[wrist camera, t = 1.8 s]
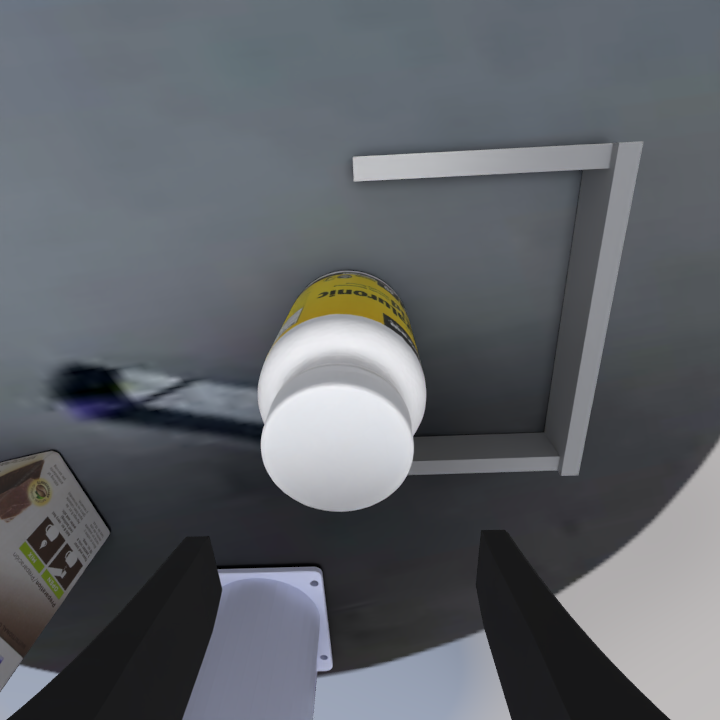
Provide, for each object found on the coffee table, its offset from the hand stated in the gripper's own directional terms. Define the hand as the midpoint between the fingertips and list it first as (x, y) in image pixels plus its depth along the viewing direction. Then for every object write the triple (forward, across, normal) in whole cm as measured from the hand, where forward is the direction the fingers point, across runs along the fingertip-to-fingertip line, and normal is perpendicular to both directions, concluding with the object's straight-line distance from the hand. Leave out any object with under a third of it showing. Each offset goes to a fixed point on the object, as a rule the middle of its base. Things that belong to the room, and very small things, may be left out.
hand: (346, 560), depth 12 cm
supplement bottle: (+11, 0, -3) cm, 11 cm away
